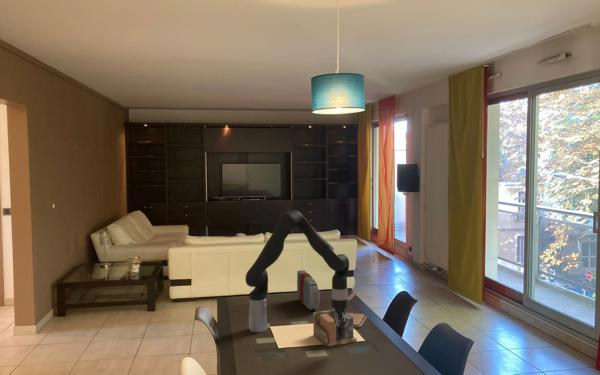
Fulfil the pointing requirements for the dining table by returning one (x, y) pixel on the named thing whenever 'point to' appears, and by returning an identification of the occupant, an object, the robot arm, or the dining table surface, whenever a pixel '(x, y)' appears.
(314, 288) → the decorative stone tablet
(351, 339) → the shelf
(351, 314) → the case
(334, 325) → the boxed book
